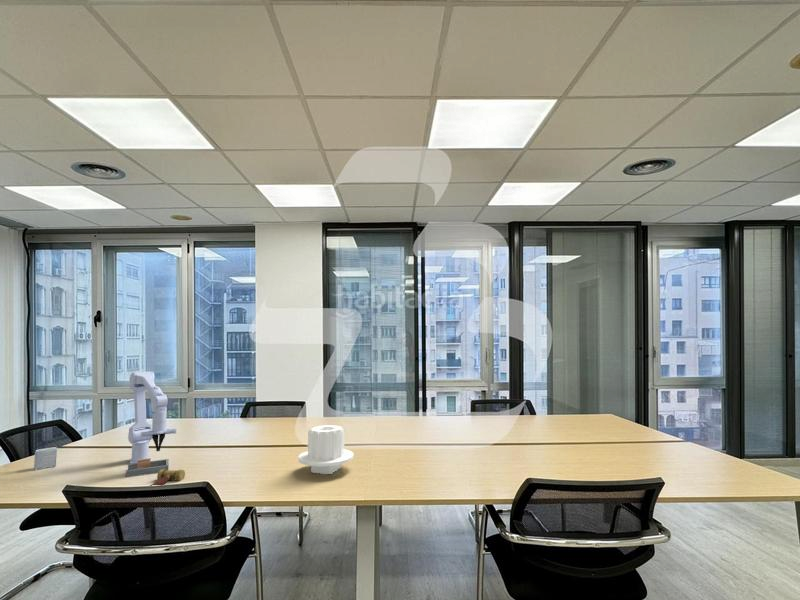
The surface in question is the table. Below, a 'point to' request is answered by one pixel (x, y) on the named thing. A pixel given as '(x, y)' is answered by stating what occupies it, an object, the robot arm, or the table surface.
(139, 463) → the cube
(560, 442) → the table surface
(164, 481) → the gavel
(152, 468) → the grey u-shaped frame
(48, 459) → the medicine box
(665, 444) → the table surface
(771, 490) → the table surface
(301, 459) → the ribbed cylinder on disc
